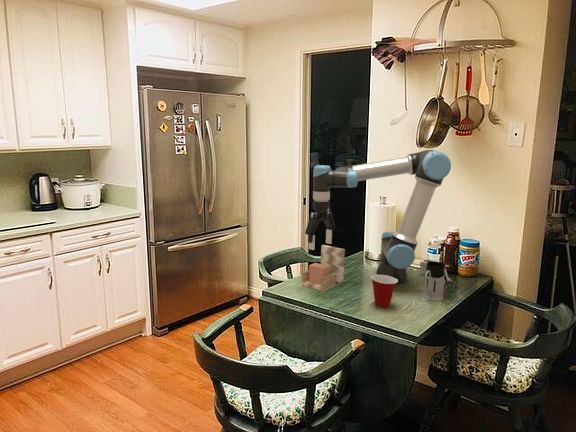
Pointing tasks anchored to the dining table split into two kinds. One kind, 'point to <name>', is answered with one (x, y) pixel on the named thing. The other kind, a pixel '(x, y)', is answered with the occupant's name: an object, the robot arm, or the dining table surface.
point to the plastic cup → (383, 289)
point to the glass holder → (434, 281)
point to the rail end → (317, 272)
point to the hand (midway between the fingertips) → (320, 246)
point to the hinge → (424, 265)
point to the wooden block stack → (336, 271)
